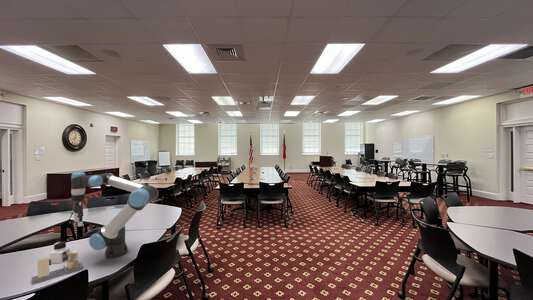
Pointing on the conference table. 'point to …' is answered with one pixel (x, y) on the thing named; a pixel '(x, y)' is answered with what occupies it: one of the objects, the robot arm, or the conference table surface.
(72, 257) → the tan box
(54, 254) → the container
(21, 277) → the conference table surface
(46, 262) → the rail
